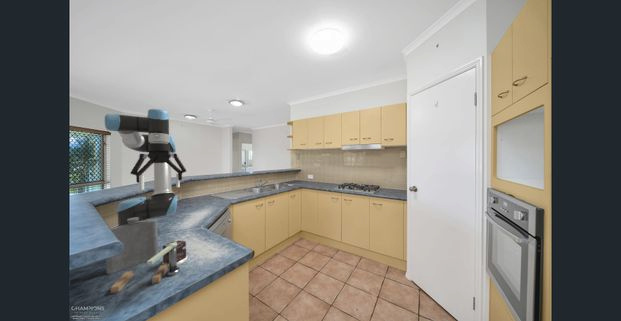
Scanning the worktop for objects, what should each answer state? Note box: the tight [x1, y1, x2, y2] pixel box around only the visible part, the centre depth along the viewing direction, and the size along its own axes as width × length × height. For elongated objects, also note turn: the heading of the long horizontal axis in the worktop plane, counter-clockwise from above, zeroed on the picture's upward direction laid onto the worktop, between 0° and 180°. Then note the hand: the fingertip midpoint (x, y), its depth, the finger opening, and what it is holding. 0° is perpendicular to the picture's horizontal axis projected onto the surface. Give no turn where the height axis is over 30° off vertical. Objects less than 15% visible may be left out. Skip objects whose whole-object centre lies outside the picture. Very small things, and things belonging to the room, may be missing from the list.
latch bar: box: [146, 242, 177, 265], centre depth 66 cm, size 3×14×1 cm, turn 8°
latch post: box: [165, 247, 181, 277], centre depth 71 cm, size 4×4×10 cm
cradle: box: [110, 263, 169, 295], centre depth 68 cm, size 10×13×2 cm
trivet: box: [161, 254, 188, 269], centre depth 79 cm, size 9×9×1 cm
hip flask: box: [105, 217, 159, 275], centre depth 78 cm, size 16×4×20 cm, turn 138°
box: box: [162, 239, 187, 263], centre depth 79 cm, size 6×6×7 cm
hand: (160, 188), depth 84 cm, fingers open, 13 cm apart
